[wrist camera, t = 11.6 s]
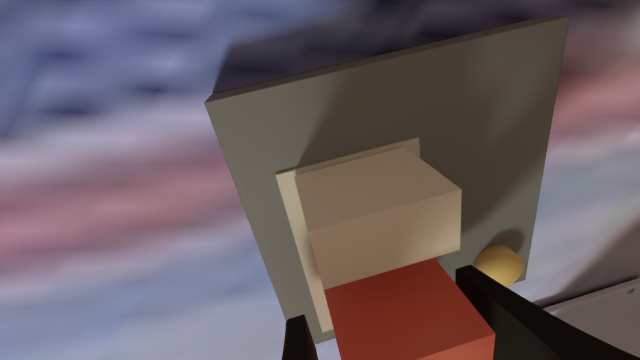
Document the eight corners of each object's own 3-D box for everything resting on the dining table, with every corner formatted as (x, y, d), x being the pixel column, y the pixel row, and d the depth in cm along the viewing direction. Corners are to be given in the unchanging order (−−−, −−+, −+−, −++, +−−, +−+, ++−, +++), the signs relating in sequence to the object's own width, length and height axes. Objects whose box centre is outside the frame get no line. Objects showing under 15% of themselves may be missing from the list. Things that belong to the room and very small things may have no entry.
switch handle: (404, 146, 10) (461, 189, 7) (407, 194, 11) (460, 250, 8) (293, 175, 10) (308, 232, 7) (306, 223, 11) (323, 289, 8)
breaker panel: (531, 19, 11) (593, 14, 9) (503, 260, 16) (538, 291, 14) (211, 94, 10) (199, 108, 8) (293, 323, 16) (299, 366, 14)
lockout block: (414, 293, 14) (487, 412, 9) (332, 318, 14) (368, 453, 9) (408, 225, 12) (495, 333, 8) (313, 253, 12) (347, 382, 7)
